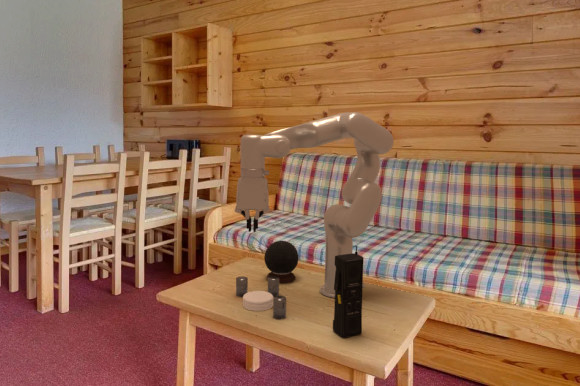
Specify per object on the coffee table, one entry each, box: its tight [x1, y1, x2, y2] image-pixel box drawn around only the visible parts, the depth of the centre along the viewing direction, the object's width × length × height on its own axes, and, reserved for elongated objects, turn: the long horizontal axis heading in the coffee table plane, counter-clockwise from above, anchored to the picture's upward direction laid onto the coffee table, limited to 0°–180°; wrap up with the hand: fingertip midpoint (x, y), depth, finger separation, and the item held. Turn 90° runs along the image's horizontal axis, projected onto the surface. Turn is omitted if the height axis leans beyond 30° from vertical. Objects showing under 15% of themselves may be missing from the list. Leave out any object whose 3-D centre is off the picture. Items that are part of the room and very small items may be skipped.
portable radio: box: [332, 245, 364, 339], centre depth 127 cm, size 8×6×25 cm
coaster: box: [242, 290, 274, 312], centre depth 148 cm, size 10×10×4 cm
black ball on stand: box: [264, 240, 300, 285], centre depth 173 cm, size 13×13×15 cm
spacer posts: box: [235, 275, 287, 320], centre depth 147 cm, size 17×22×6 cm
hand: (252, 230), depth 144 cm, fingers closed
